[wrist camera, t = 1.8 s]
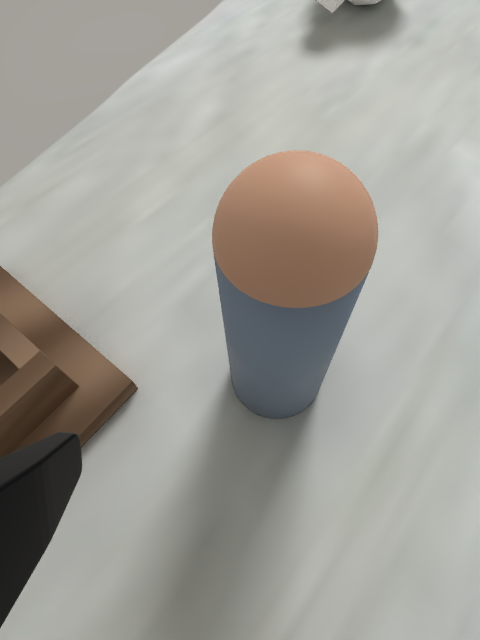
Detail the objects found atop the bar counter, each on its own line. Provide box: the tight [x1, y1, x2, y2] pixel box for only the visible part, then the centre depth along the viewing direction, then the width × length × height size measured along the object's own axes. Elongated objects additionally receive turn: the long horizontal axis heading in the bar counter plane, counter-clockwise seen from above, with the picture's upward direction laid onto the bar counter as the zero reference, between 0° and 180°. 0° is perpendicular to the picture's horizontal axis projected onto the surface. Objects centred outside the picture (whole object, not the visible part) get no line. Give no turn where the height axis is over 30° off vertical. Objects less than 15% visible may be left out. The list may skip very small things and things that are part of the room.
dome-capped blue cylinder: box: [212, 151, 378, 419], centre depth 17 cm, size 5×5×14 cm
